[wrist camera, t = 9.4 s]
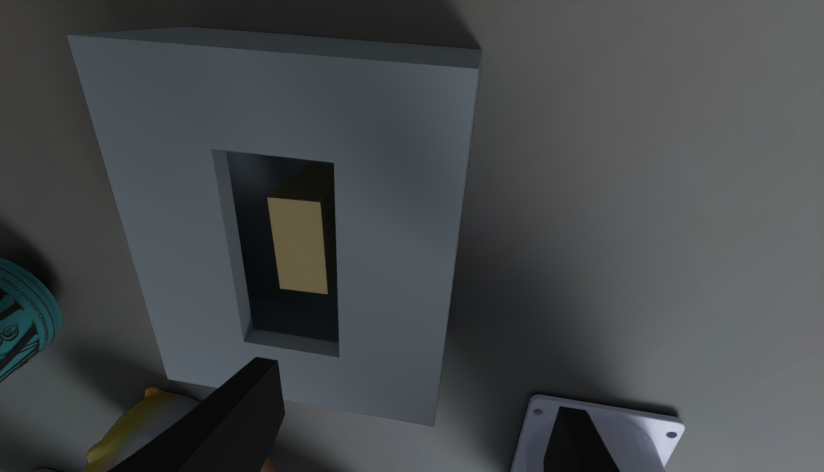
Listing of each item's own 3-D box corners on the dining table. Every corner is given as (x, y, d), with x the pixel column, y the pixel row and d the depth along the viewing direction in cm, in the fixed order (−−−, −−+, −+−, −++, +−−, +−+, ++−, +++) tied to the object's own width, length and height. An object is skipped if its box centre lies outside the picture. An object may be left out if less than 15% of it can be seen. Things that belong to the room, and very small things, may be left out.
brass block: (355, 245, 21) (327, 294, 17) (315, 241, 21) (280, 288, 17) (351, 166, 19) (320, 202, 15) (308, 162, 19) (267, 197, 16)
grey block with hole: (446, 334, 23) (434, 426, 18) (234, 301, 24) (167, 378, 19) (482, 49, 16) (478, 69, 11) (187, 26, 18) (66, 34, 13)
